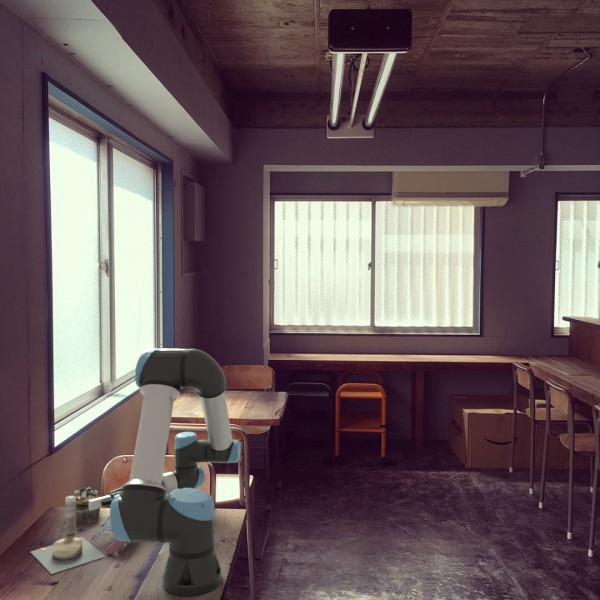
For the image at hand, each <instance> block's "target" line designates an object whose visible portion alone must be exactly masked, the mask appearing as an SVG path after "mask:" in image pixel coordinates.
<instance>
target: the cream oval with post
mask: <svg viewBox="0 0 600 600" xmlns="http://www.w3.org/2000/svg"><path fill="white" fill-rule="evenodd" d="M64 498H65V535H66V536H65V537H64V538H62V539H58V540H56V541H55V542H53V544H52V554H53V557H54V558H55V559H60V560H65V559H71V558H74V557H77V556H79V555H80V554H81V553H82V540H81V539H79V538H78V537H77V523H76V497H75V496H74V495H68V496H65V497H64Z"/></svg>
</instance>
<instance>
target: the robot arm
mask: <svg viewBox="0 0 600 600" xmlns="http://www.w3.org/2000/svg"><path fill="white" fill-rule="evenodd" d="M135 365H136V366H135V372H134V373H135V375H134V382H135V384H136V385H135V386H137V387H138V388H139V393H140V394H141V395H142V397H143V401H142V405H141V412H140V418H139V424H138V429H137V435H136V440H135V446H134V452H133V457H132V458H133V459H132V463H131V470H130V475H129V480H128V481H127V482H126V483H124V484H123V485H122V486H120V487H118V488H115V489H112V490H110V491H107V494H106V495H104V496H98V498H95V499H92V500H89V510H94V509H98V508H100V509H102V508H105V507H108V506H110V507H109V525H110V529H111V533H112V535H113V537H114V538H115V540H116V539H117V540H119V541H127V542H130V544H131V543H133V544H134V543H137V542H138V543H153V544H154V543H158V544H160V543H162V544H168V547H169V549H168V550H169V551H168V553H169V554H168V557H167V561H166V563H165V565H164V570H163V573H162V587H163V588H164V590H166V591H167V592H168V593H170V594H172V595H173V594H174V595H178V596H182V597H183V596H184V597H185V596H186V597H187V596H188V597H190V595H192V596H198V594H199V595H202V593H203V594H206V593H208V592H209V593H210V592H211V591H212V590H214V589H216V588H217V587H218V586H219V585H220V583H221V582H222V568H221V565H220V562H219V559H218V557H217V554H216V551H215V518H216V517H215V515H216V512H215V503H214V499H213V497H212V495H210V494H209V493H208V492H207V491H205V490H202V489H199V488H201V487H202V486H203V485H204V484H205V480H206V474H205V471H204V468H203V466H201V465H199V464H198V463H212V464H213V463H216V464H217V463H219V464H230V463H231V464H235V463H236V464H237V463H238V462H239V461H240V458H241V450H242V449H241V447H242V446H241V442H240V440H238V439H233V435H232V428H231V424H230V417H229V410H228V405H227V404H228V403H227V400H226V399H227V398H226V393H225V392H226V389H227V384H228V383H227V379H226V376H225V373H224V371H223V369H222V367H221V366H220V364H219V363H218V362H217V361H216V359H214V358H213V356H211V355H210V354H208V353H207V352H205V351H203V350H201V349H198V348H197V349H196V348H162V347H157V348H149V349H145V350H144V351H143V352H142V353H141V354H140V356H139V358H138V360H137V362H136V364H135ZM182 389H193V390H194V392H195V394H196V396H198V397H199V399H200V404H201V409H202V414H203V417H204V422H205V427H206V431H207V435H208V436H207V437H208V438H207V439H205V438H204V439H198V435H197V433H195V432H193V431H183V432H179V433H177V434H176V435H175V436H174V447H173V449H174V470H172V471H167V472H164V470H165V463H166V456H167V450H168V449H167V448H168V443H169V436H170V429H171V423H172V416H173V409H174V403H175V400H176V399H178V398H179V397H180V395H181V390H182Z"/></svg>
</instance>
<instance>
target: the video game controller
mask: <svg viewBox="0 0 600 600" xmlns="http://www.w3.org/2000/svg"><path fill="white" fill-rule="evenodd" d="M130 544H131V542H127V541H119V540H117V539H116V538H115V540H114V541H113V542H112V543H111V544H109V545H108V546H107V547H106V548H105V554H106V555H114V554H116V553H117V552H122V551H123V550H124V548H125V547H126V548H127V546H130Z"/></svg>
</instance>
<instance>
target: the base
mask: <svg viewBox="0 0 600 600" xmlns="http://www.w3.org/2000/svg"><path fill="white" fill-rule="evenodd" d="M77 538H79V539H81V540H82V553H81V554H80V555H79V556H77V557H74V558H71V559H65V560H60V559H55V558H54V557H53V554H52V545H53V544H52V545H48V546H45V547H40V548H38V549H35V550H31V551H30V554H31V555H32V556H33V557H34V558H35V559H36V560H37V561H38V563H39V564H41V566H43V568H44V569H45V570H46V571H47V572H48V573H49V574H50V575H51V576H52V575H56V574H60V573H62V572H64V571H65V572H66V571H68V570H72V569H74V568H78V567H80V566H84V565H87V564H90V563H92V562H95V561H99V560H102V559H105V558H106V555H104V554H103V553H102V552H101V551H100V550H99V549H97V548H96V547H95V546H94V545H92V544H91V542H89V541H88V540H87V539H85V538H84V537H83V536H79V537H77Z"/></svg>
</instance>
